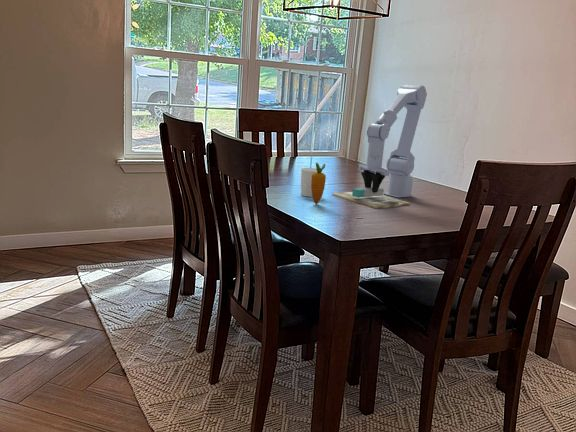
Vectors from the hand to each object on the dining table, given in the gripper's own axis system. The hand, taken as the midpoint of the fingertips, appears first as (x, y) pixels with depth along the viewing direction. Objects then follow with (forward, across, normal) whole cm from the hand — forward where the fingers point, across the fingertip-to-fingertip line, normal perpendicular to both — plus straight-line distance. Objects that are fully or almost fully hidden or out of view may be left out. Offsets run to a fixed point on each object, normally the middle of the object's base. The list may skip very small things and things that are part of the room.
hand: (371, 191), depth 203 cm
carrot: (+4, -1, -26) cm, 26 cm away
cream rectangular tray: (+3, 0, 0) cm, 3 cm away
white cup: (+4, -15, -18) cm, 24 cm away
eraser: (+2, 0, 0) cm, 2 cm away
